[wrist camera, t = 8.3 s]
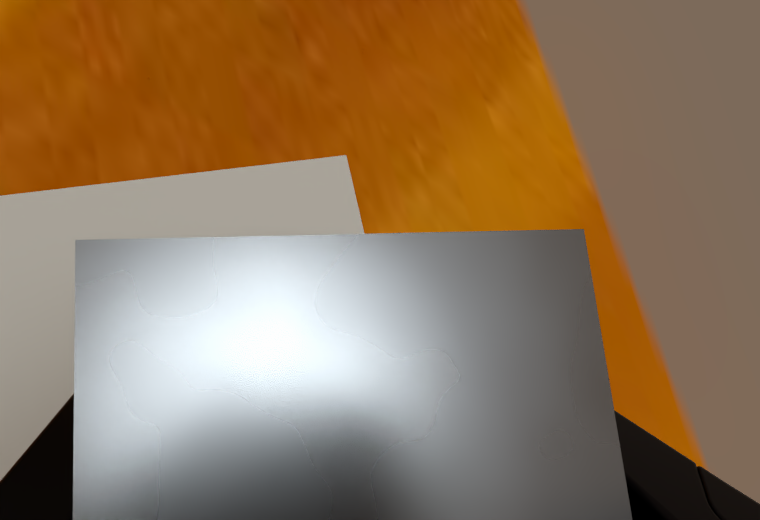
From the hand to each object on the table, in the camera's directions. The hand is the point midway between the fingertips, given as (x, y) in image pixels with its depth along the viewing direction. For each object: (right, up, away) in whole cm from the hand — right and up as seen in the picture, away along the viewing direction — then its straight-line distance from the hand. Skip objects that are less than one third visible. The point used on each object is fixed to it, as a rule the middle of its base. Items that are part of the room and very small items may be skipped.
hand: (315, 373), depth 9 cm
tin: (-2, -3, +6) cm, 7 cm away
